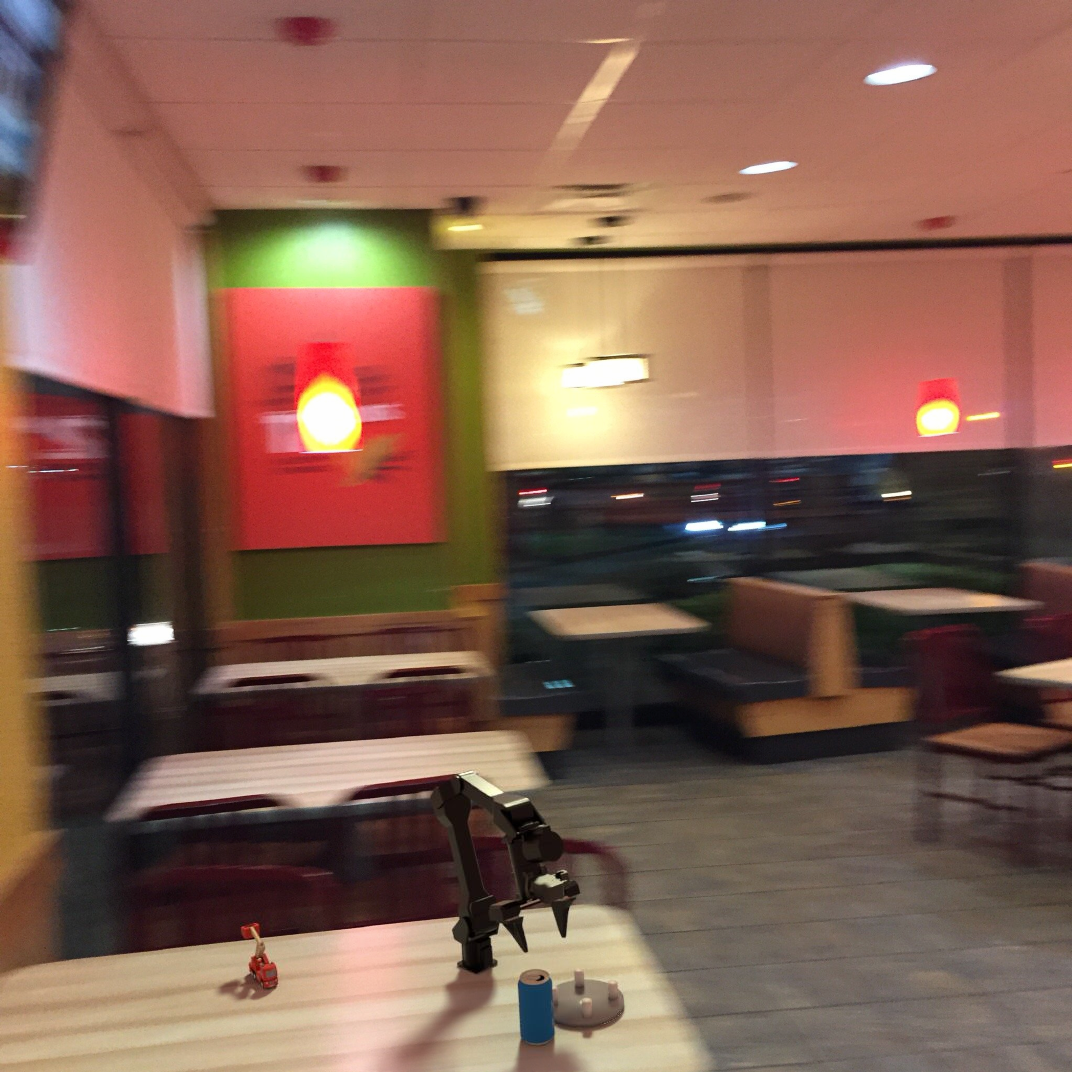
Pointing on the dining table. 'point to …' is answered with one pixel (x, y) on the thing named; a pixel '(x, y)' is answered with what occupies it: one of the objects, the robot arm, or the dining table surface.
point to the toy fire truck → (261, 967)
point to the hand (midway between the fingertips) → (545, 945)
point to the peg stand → (586, 1001)
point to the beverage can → (536, 1007)
